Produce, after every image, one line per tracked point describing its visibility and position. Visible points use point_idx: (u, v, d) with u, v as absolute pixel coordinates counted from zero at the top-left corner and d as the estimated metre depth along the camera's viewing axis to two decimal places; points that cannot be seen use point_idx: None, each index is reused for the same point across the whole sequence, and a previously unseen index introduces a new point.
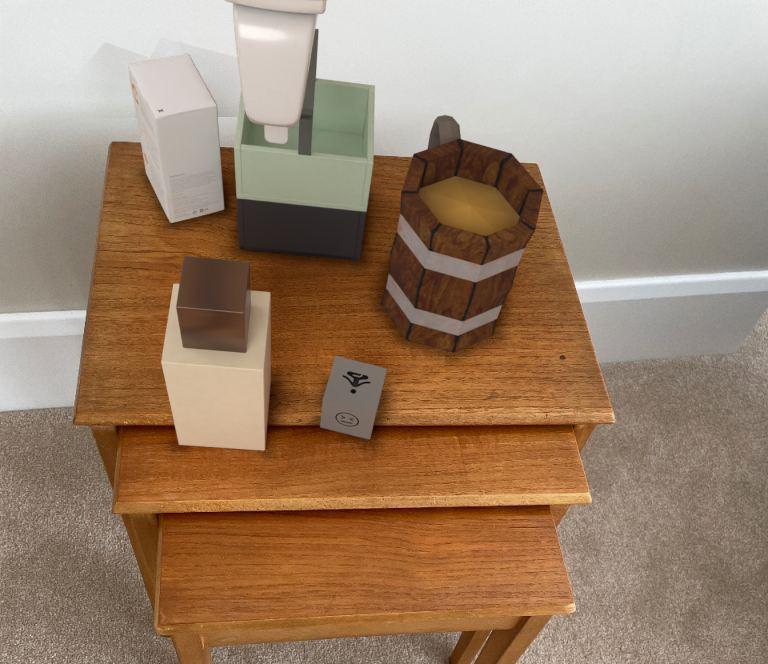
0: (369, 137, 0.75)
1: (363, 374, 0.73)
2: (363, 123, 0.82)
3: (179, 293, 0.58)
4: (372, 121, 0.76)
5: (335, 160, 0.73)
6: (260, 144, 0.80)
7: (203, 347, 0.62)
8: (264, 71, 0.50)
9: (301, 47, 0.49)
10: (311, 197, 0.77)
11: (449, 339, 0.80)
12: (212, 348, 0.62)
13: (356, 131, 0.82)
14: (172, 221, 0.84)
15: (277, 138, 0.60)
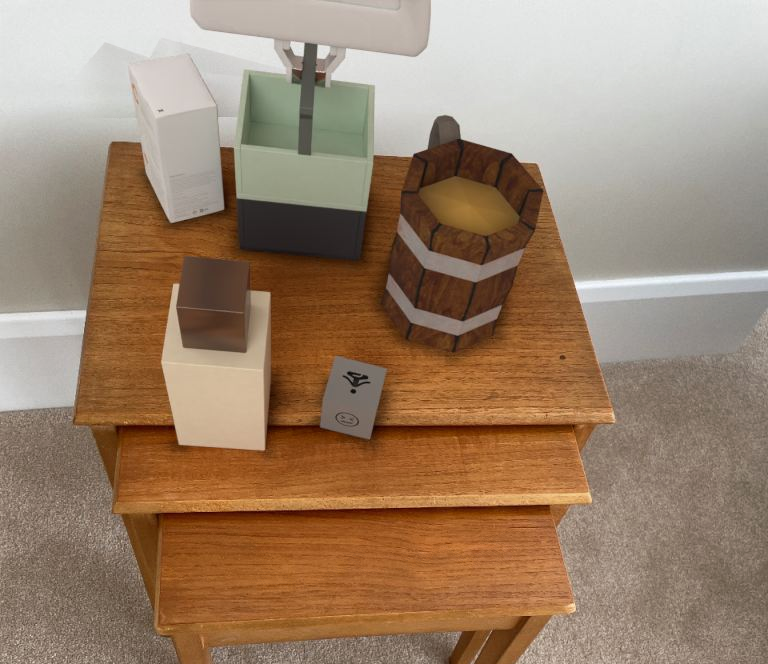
0: (369, 137, 0.75)
1: (363, 374, 0.73)
2: (363, 123, 0.82)
3: (179, 293, 0.58)
4: (372, 121, 0.76)
5: (335, 160, 0.73)
6: (260, 144, 0.80)
7: (203, 347, 0.62)
8: None
9: None
10: (311, 197, 0.77)
11: (449, 339, 0.80)
12: (212, 348, 0.62)
13: (356, 131, 0.82)
14: (172, 221, 0.84)
15: None
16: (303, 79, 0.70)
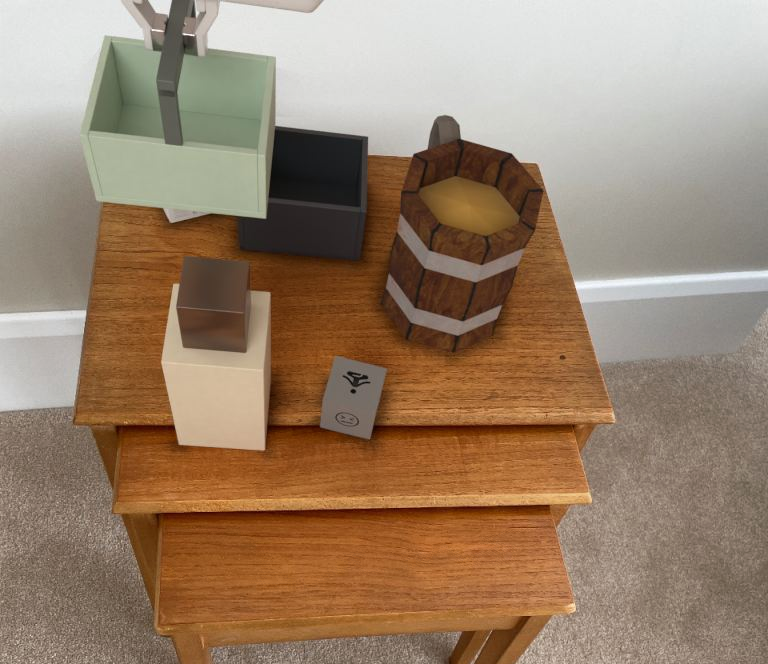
0: (263, 122, 0.58)
1: (363, 374, 0.73)
2: None
3: (179, 293, 0.58)
4: (268, 102, 0.59)
5: (215, 152, 0.56)
6: (133, 132, 0.63)
7: (203, 347, 0.62)
8: None
9: None
10: (192, 200, 0.60)
11: (449, 339, 0.80)
12: (212, 348, 0.62)
13: (258, 116, 0.65)
14: (172, 221, 0.84)
15: (206, 45, 0.55)
16: (165, 44, 0.53)
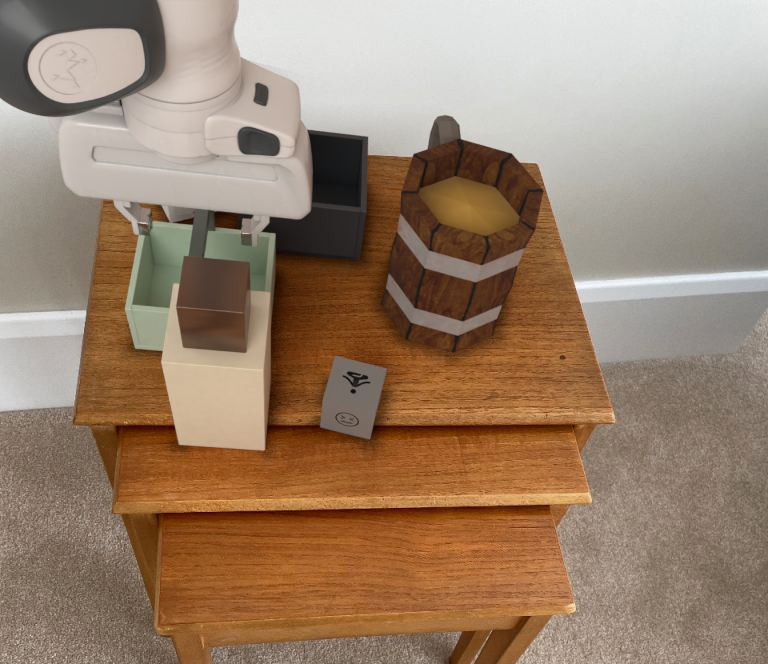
0: None
1: (363, 374, 0.73)
2: None
3: (179, 293, 0.58)
4: (270, 274, 0.75)
5: None
6: (162, 289, 0.80)
7: (203, 347, 0.62)
8: (310, 170, 0.64)
9: (307, 133, 0.63)
10: None
11: (449, 339, 0.80)
12: (212, 348, 0.62)
13: (262, 272, 0.82)
14: (172, 221, 0.84)
15: (258, 237, 0.71)
16: (191, 245, 0.69)
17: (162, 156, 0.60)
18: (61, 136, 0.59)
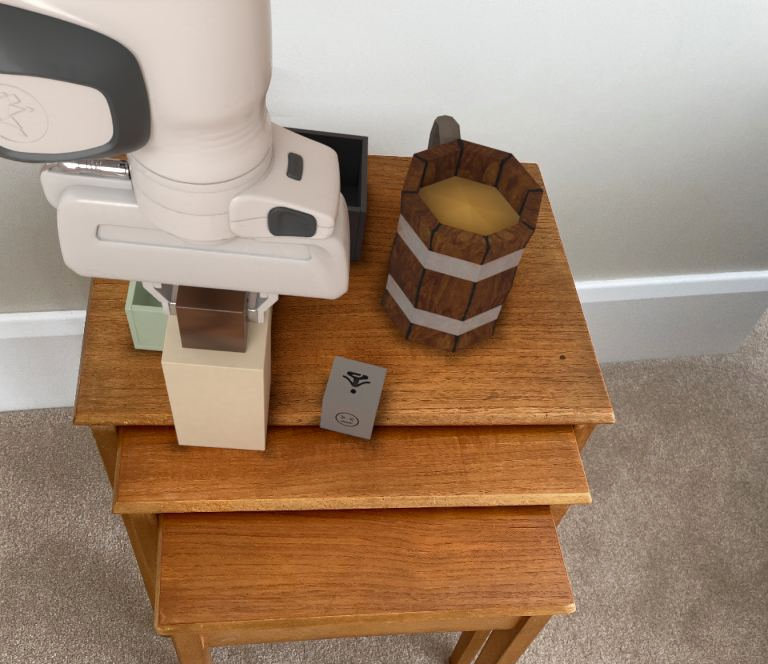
0: None
1: (363, 374, 0.73)
2: None
3: (178, 293, 0.58)
4: None
5: None
6: None
7: (202, 347, 0.62)
8: (348, 247, 0.55)
9: (345, 204, 0.54)
10: None
11: (449, 339, 0.80)
12: (211, 348, 0.62)
13: None
14: None
15: None
16: None
17: (178, 236, 0.51)
18: (60, 214, 0.51)
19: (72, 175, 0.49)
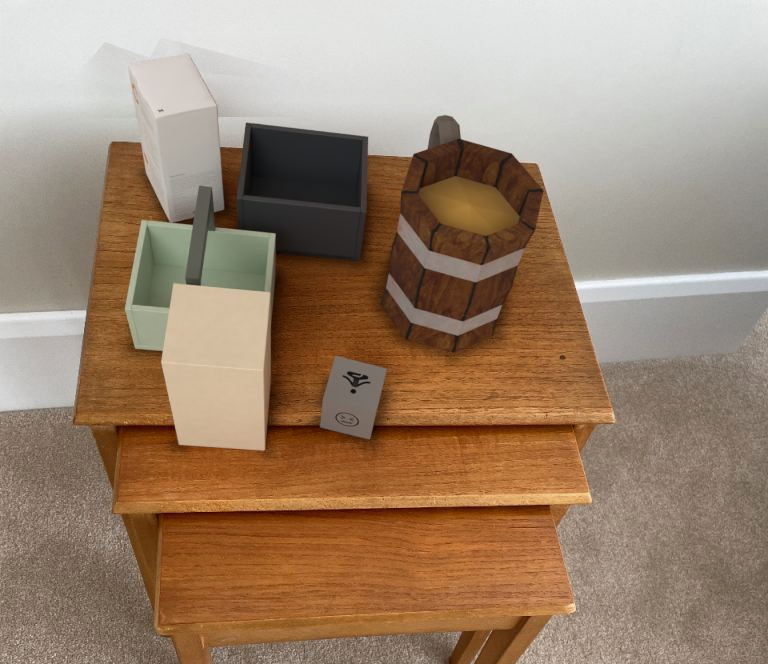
0: None
1: (363, 374, 0.73)
2: None
3: None
4: (270, 274, 0.75)
5: None
6: (162, 289, 0.80)
7: None
8: None
9: None
10: None
11: (449, 339, 0.80)
12: None
13: (262, 272, 0.82)
14: (172, 221, 0.84)
15: None
16: (191, 245, 0.69)
17: None
18: None
19: None
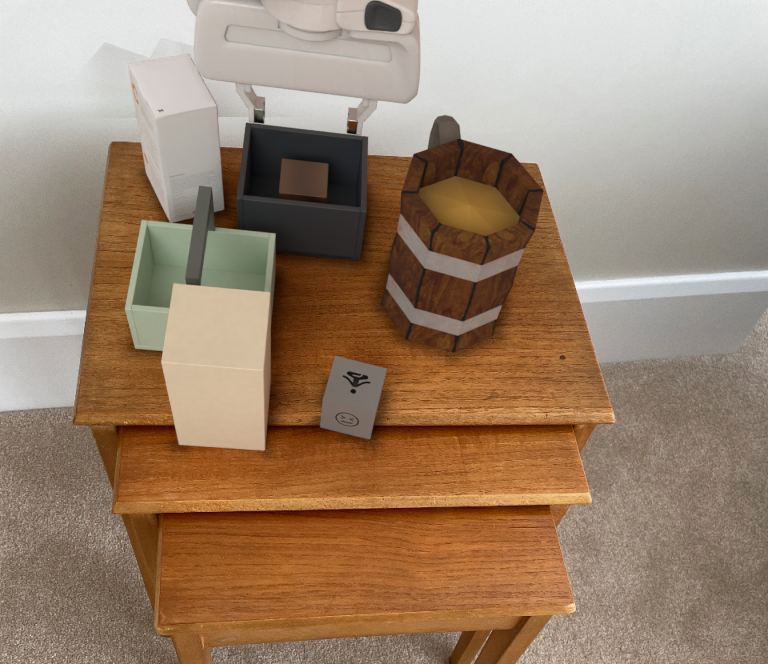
0: None
1: (363, 374, 0.73)
2: None
3: (280, 183, 0.81)
4: (270, 274, 0.75)
5: None
6: (162, 289, 0.80)
7: None
8: None
9: (418, 18, 0.69)
10: None
11: (449, 339, 0.80)
12: None
13: (262, 272, 0.82)
14: (172, 221, 0.84)
15: None
16: (191, 245, 0.69)
17: (291, 33, 0.65)
18: (200, 14, 0.65)
19: None
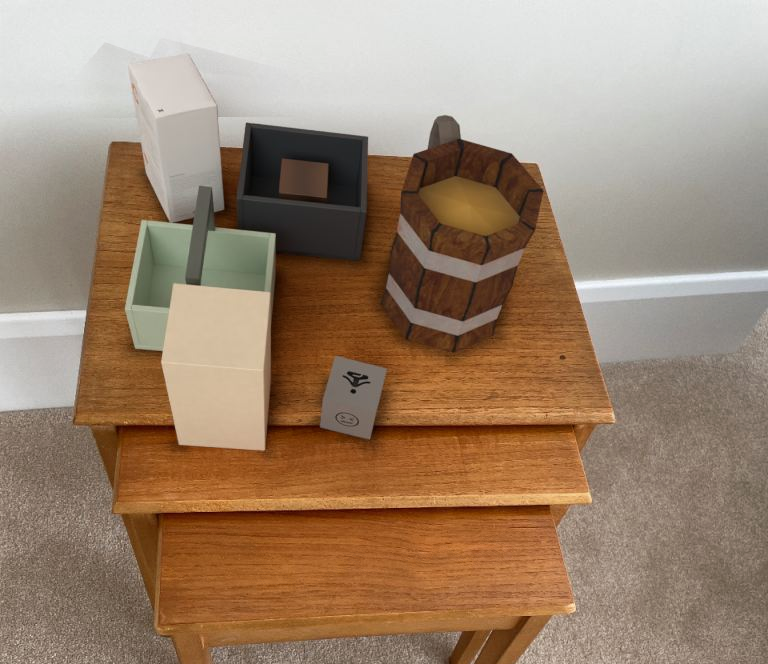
0: None
1: (363, 374, 0.73)
2: None
3: (280, 183, 0.81)
4: (270, 274, 0.75)
5: None
6: (162, 289, 0.80)
7: None
8: None
9: None
10: None
11: (449, 339, 0.80)
12: None
13: (262, 272, 0.82)
14: (172, 221, 0.84)
15: None
16: (191, 245, 0.69)
17: None
18: None
19: None
